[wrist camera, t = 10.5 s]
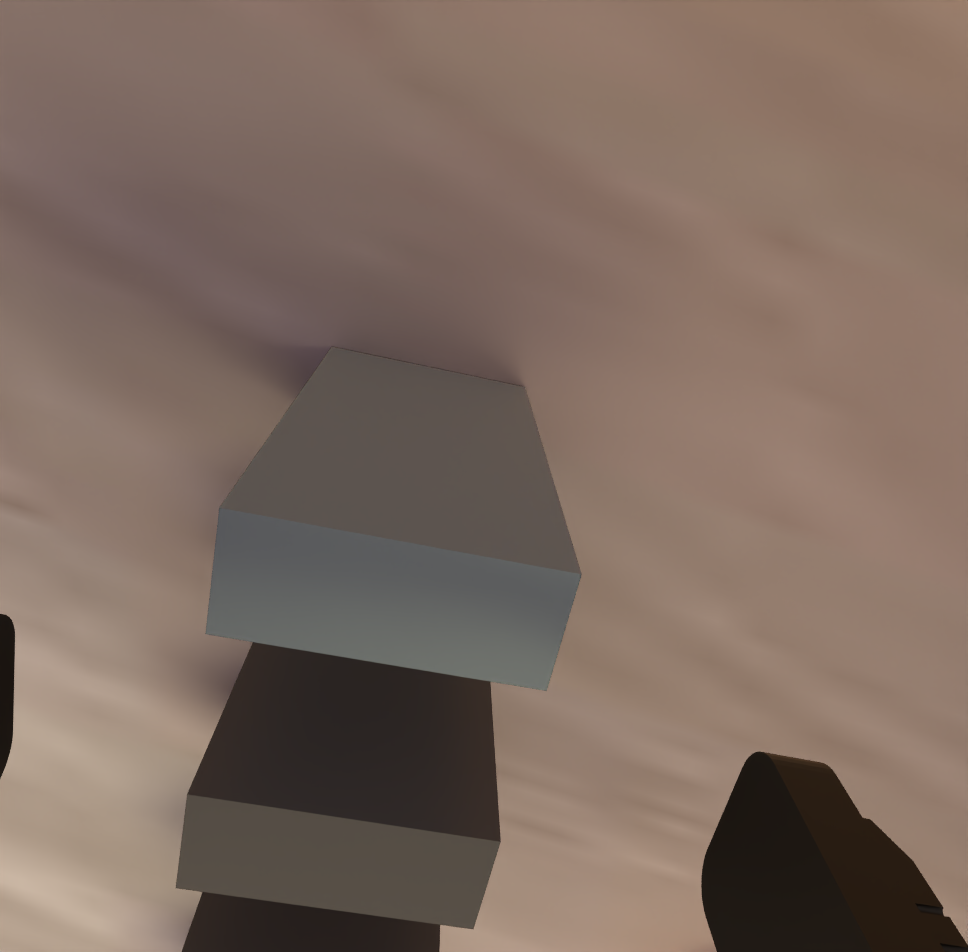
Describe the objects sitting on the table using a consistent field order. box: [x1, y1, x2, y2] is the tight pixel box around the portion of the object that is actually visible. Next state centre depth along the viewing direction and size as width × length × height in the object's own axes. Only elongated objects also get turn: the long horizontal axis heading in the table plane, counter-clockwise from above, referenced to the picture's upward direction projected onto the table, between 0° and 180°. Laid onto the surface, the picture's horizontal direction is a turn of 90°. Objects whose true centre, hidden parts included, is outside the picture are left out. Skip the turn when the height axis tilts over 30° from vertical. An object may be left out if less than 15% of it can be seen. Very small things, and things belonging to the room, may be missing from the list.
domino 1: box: [206, 347, 582, 691], centre depth 16 cm, size 2×5×10 cm, turn 78°
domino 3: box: [182, 892, 440, 952], centre depth 19 cm, size 2×5×10 cm, turn 77°
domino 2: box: [176, 642, 501, 929], centre depth 17 cm, size 2×5×10 cm, turn 77°
